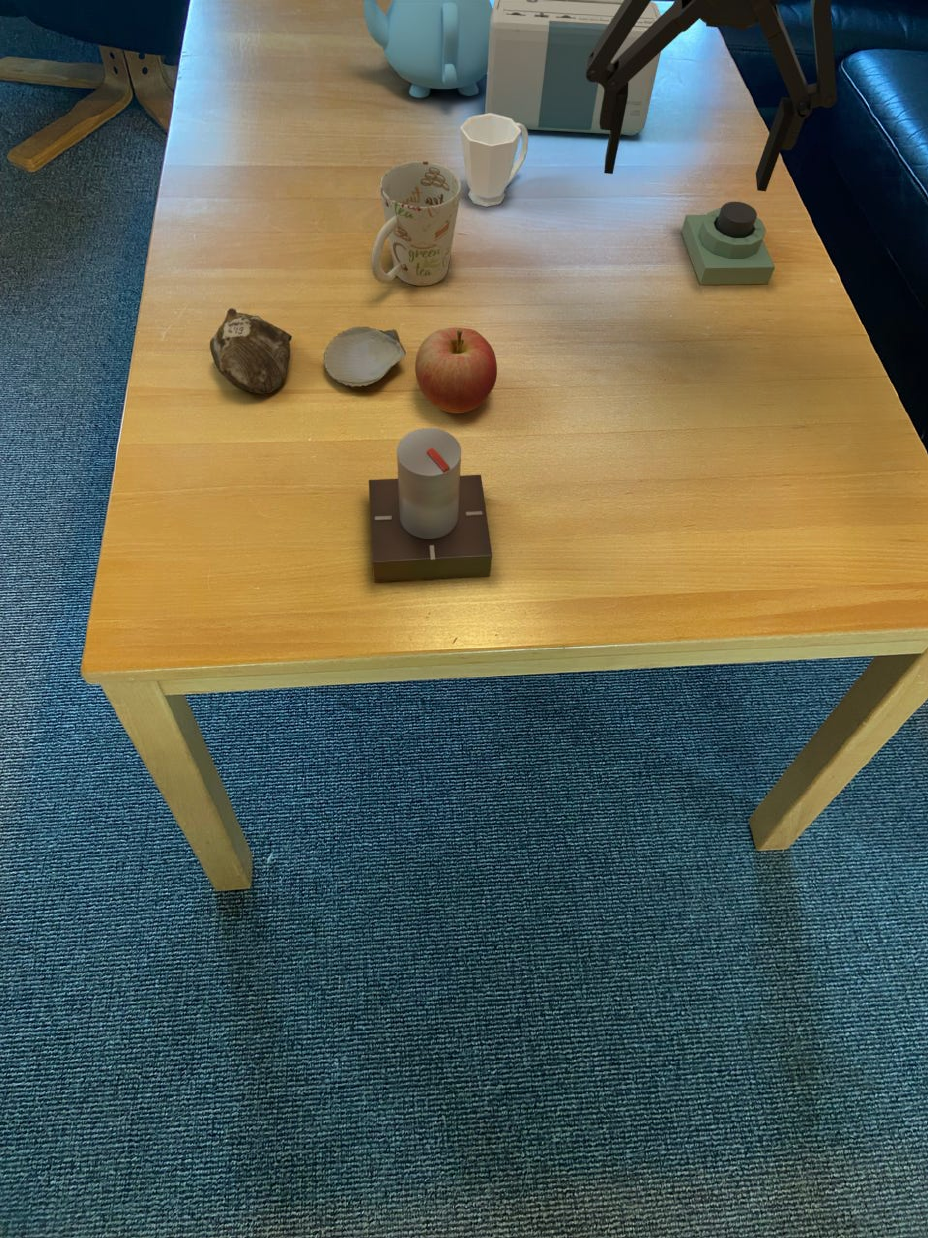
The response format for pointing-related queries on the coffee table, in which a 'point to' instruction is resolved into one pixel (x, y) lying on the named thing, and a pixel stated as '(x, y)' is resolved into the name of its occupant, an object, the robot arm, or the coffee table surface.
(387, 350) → the seashell
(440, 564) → the control panel
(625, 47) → the white and blue toaster
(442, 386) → the apple
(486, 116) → the cup
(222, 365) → the fossilized seashell
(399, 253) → the mug
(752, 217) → the button
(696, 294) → the coffee table surface
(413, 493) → the dial
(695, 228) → the button box
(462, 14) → the teapot
